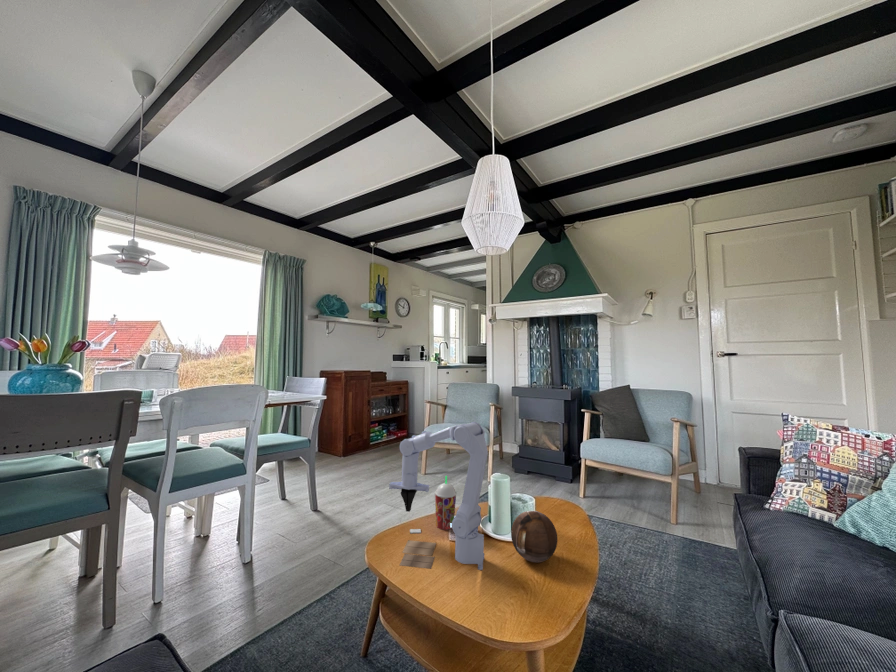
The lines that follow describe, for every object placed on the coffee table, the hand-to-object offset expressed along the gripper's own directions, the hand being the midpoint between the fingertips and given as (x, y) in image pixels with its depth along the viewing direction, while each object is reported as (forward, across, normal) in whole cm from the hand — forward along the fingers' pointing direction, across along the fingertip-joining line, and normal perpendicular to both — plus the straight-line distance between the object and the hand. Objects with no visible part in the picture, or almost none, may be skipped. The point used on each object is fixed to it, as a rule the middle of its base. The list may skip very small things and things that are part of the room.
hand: (408, 510), depth 128 cm
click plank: (+10, -6, +7) cm, 14 cm away
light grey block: (+11, -2, -4) cm, 12 cm away
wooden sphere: (+11, -44, +4) cm, 45 cm away
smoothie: (+11, -12, -11) cm, 19 cm away
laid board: (+10, -7, +15) cm, 19 cm away
